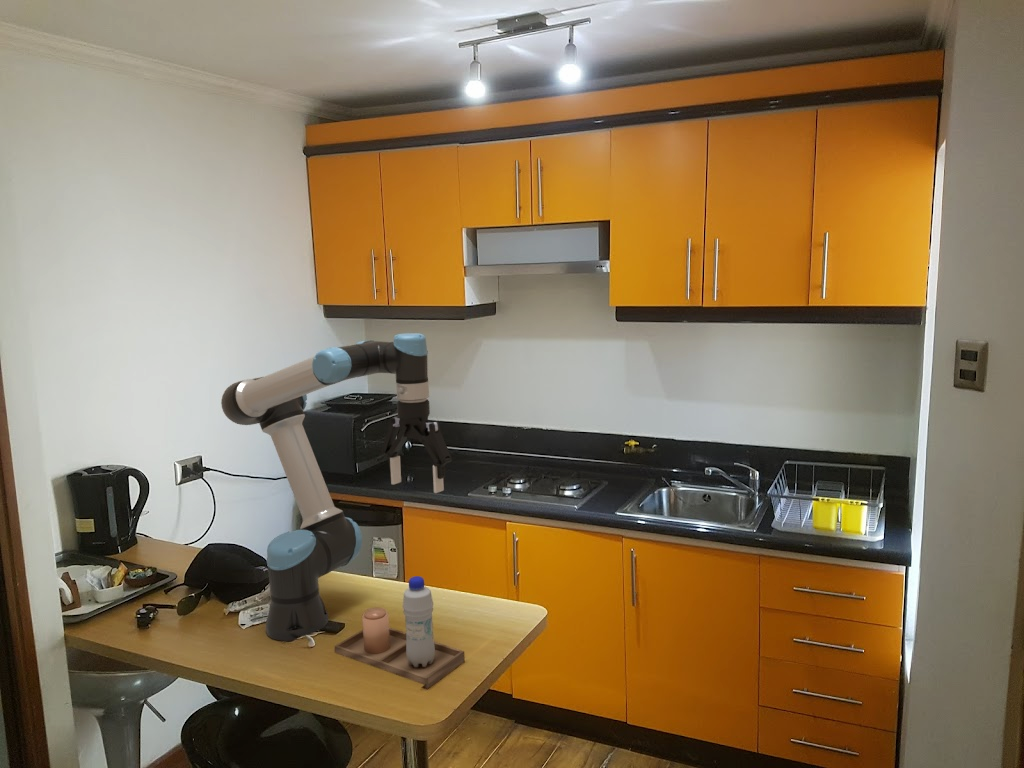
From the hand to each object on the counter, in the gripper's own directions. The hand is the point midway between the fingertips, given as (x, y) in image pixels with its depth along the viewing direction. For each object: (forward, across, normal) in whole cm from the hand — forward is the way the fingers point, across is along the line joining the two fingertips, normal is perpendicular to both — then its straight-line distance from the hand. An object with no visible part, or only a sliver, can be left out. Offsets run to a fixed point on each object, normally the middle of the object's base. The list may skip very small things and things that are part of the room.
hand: (417, 487), depth 181 cm
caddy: (+36, +5, -14) cm, 39 cm away
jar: (+35, -2, -14) cm, 38 cm away
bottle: (+35, +12, -14) cm, 40 cm away
